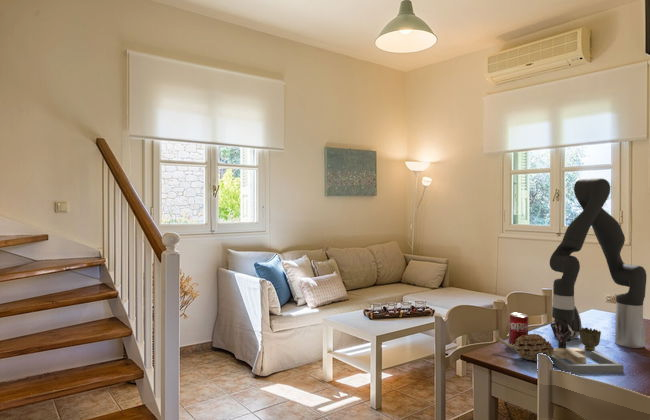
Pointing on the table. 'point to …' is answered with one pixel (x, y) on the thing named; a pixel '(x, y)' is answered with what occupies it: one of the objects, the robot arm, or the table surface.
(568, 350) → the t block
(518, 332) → the soda can
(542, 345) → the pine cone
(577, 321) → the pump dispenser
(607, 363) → the shallow grey tray
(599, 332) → the cup
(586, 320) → the table surface
